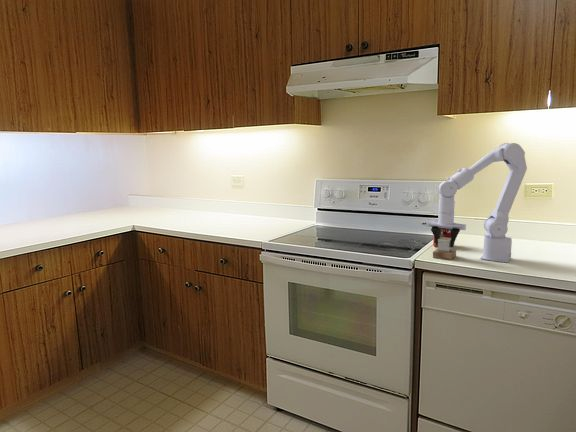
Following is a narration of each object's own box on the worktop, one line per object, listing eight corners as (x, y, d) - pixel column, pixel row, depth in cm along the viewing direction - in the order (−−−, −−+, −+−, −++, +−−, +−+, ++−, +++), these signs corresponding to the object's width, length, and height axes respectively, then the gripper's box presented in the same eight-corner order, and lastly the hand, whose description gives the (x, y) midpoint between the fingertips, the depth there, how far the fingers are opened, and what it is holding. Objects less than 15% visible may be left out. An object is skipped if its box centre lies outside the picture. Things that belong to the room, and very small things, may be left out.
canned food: (431, 247, 180) (432, 222, 178) (434, 243, 187) (435, 219, 185) (450, 249, 176) (451, 223, 175) (453, 245, 183) (454, 220, 182)
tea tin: (452, 250, 165) (452, 238, 165) (449, 252, 162) (449, 240, 161) (440, 248, 168) (441, 237, 167) (437, 251, 164) (437, 239, 164)
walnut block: (456, 256, 166) (456, 250, 165) (451, 260, 160) (451, 254, 160) (438, 253, 170) (438, 247, 169) (432, 257, 164) (433, 251, 164)
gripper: (468, 212, 161) (466, 246, 163) (430, 209, 169) (429, 241, 172) (464, 214, 155) (462, 250, 158) (425, 211, 164) (424, 245, 166)
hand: (444, 246), depth 164 cm, fingers open, 5 cm apart
